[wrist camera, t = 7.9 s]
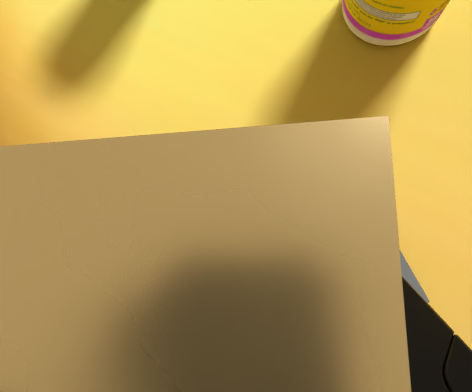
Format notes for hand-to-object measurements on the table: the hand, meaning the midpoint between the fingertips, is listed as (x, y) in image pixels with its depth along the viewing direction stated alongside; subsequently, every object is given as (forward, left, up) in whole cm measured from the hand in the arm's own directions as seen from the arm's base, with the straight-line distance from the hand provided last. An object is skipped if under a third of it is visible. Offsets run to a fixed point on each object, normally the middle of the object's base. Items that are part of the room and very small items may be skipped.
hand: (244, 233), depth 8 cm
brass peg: (0, +1, -7) cm, 7 cm away
